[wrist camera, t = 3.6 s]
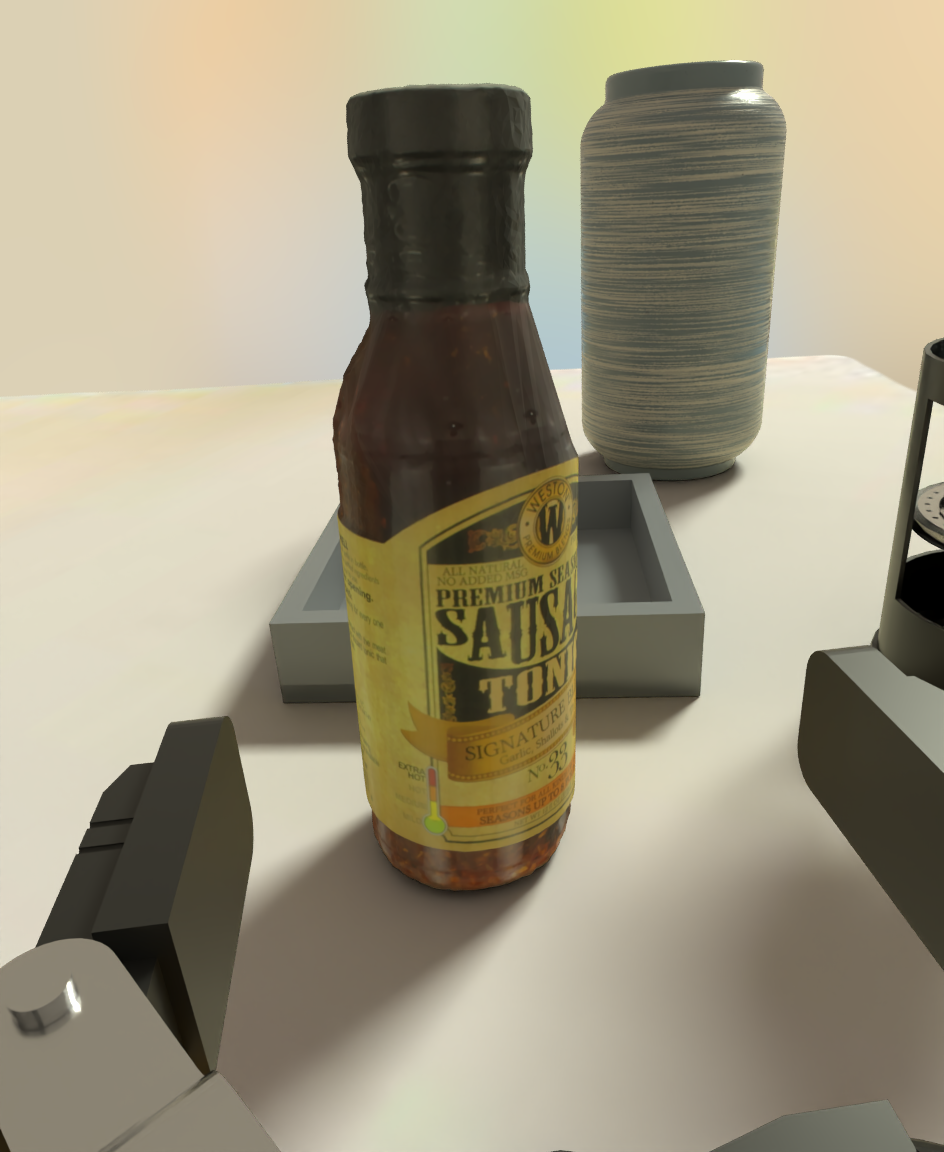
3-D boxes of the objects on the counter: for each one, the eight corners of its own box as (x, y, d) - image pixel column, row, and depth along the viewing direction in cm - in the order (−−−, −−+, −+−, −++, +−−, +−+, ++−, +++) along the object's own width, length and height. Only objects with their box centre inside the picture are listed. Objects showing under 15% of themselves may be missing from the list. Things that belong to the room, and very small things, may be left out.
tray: (283, 702, 33) (269, 623, 32) (358, 543, 48) (350, 484, 46) (699, 695, 32) (705, 613, 31) (647, 534, 47) (649, 472, 45)
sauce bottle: (476, 943, 22) (406, 64, 14) (331, 836, 26) (208, 104, 18) (622, 814, 26) (635, 76, 18) (477, 738, 31) (433, 106, 22)
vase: (547, 464, 59) (537, 81, 49) (654, 428, 65) (665, 84, 56) (686, 502, 51) (708, 52, 41) (792, 456, 57) (833, 59, 48)
